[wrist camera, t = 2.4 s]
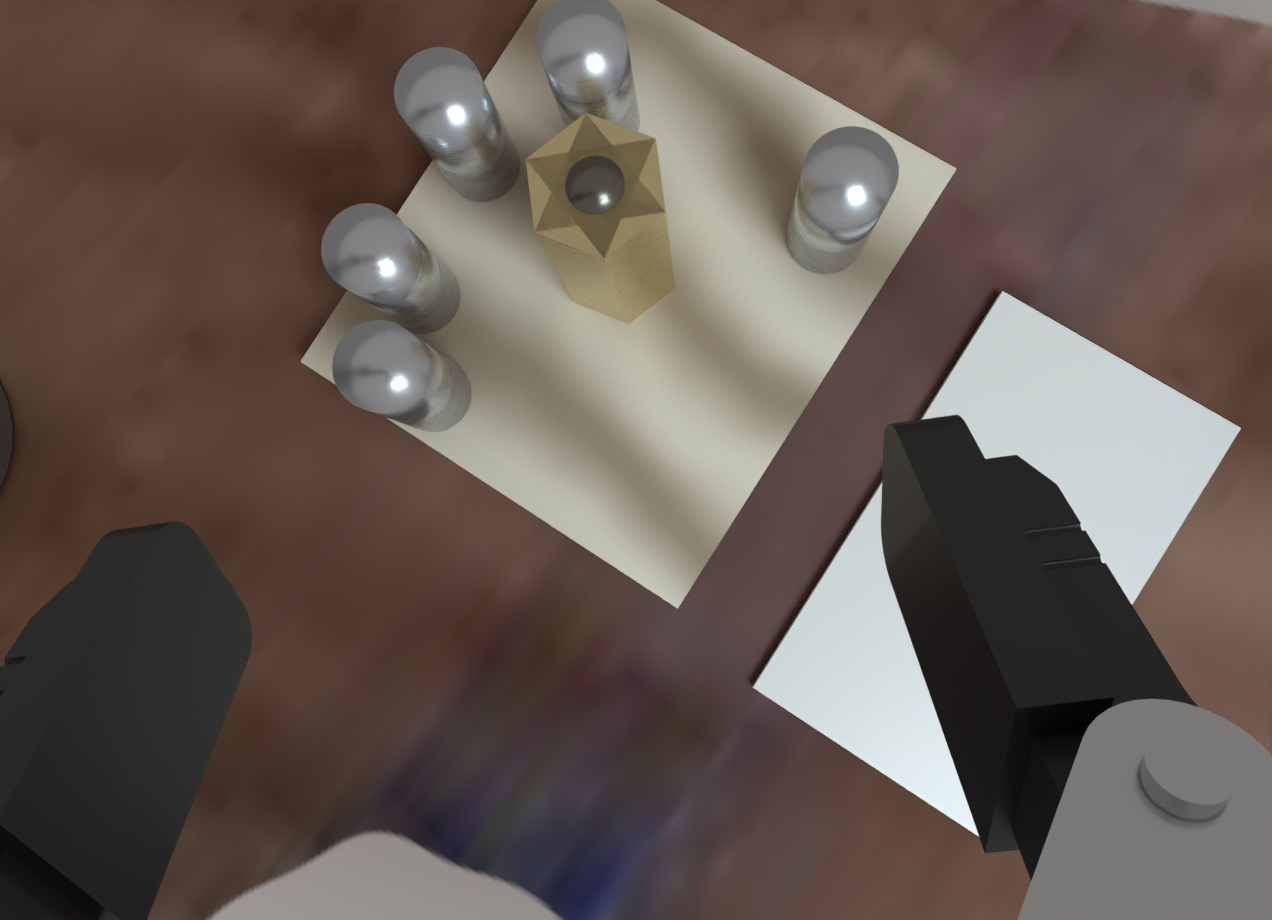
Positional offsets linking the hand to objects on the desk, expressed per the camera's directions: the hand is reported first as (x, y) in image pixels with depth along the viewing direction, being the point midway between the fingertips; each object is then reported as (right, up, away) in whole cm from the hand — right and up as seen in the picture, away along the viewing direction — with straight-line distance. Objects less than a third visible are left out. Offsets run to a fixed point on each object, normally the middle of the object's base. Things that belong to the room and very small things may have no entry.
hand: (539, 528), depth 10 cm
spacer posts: (-1, +7, +24) cm, 25 cm away
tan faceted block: (+1, +8, +24) cm, 25 cm away
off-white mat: (+15, -3, +23) cm, 27 cm away
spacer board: (+1, +8, +25) cm, 26 cm away
